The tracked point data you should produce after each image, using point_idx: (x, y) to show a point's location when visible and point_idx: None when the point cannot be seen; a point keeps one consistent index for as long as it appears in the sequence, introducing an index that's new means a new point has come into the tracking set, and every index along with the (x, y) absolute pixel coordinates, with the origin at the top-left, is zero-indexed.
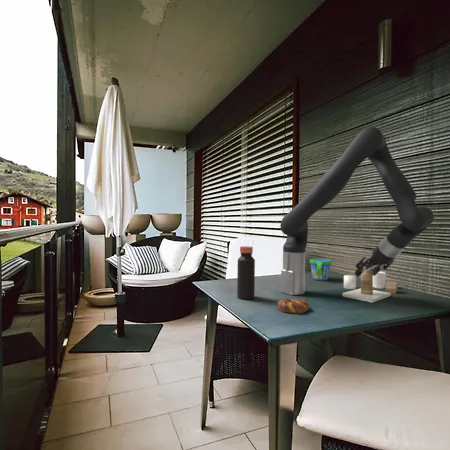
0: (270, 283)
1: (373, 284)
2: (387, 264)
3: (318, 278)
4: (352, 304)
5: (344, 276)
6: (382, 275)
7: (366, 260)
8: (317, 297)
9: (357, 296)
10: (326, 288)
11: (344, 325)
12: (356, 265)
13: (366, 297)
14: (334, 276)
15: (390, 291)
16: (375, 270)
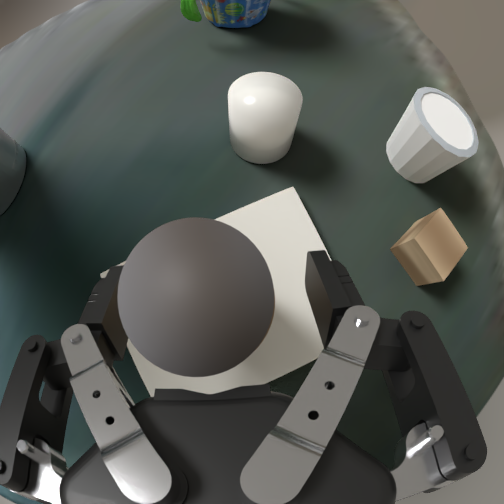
0: (35, 68)
1: (394, 151)
2: (403, 421)
3: (212, 20)
4: (74, 402)
5: (228, 93)
6: (449, 159)
7: (24, 494)
8: (15, 267)
9: (130, 353)
10: (142, 127)
11: (5, 493)
12: (23, 357)
13: (161, 384)
14: (325, 4)
15: (407, 266)
16: (320, 306)
